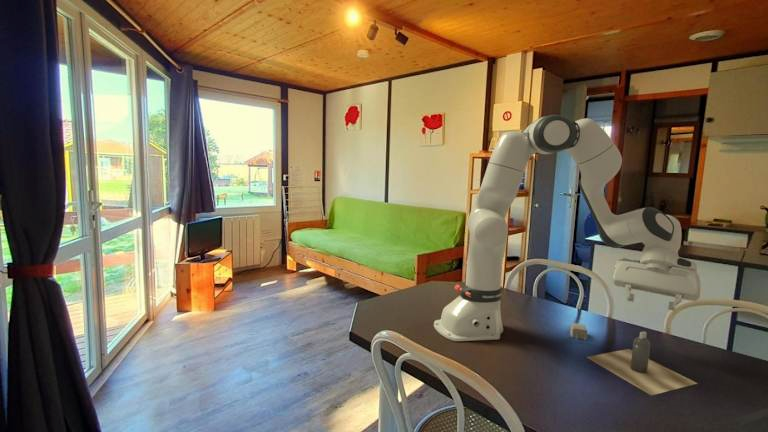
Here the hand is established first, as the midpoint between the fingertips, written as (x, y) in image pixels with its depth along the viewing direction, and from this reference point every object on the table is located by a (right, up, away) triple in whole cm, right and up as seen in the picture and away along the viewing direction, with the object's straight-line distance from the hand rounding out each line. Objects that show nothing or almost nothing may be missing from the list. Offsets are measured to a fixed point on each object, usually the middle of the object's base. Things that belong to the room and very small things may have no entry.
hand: (650, 304), depth 104 cm
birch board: (-8, -16, -6) cm, 19 cm away
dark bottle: (-8, -15, -7) cm, 18 cm away
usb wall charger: (-14, -14, +12) cm, 23 cm away
